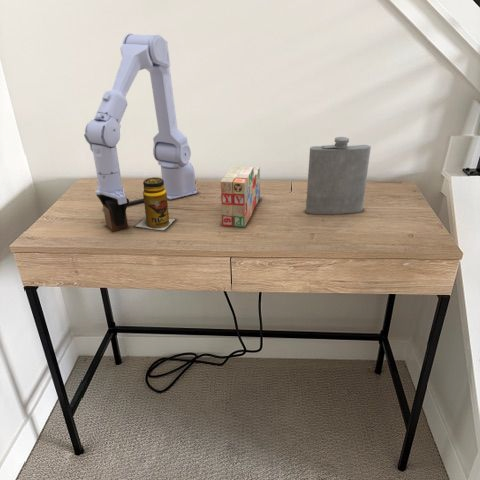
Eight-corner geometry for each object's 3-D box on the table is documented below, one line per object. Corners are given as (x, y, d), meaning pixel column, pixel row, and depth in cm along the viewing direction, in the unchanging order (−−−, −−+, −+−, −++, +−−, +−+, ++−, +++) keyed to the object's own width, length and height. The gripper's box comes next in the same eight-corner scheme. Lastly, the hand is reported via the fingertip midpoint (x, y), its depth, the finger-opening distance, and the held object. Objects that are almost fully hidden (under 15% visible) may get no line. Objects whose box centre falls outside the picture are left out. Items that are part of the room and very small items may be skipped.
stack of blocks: (239, 196, 152) (239, 155, 145) (260, 198, 150) (260, 156, 143) (221, 225, 134) (220, 180, 127) (244, 227, 133) (244, 182, 126)
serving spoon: (152, 196, 152) (151, 193, 152) (158, 201, 149) (158, 198, 149) (102, 208, 145) (101, 205, 145) (108, 213, 142) (107, 210, 142)
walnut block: (121, 222, 137) (118, 200, 134) (128, 227, 134) (125, 206, 131) (106, 225, 135) (102, 204, 132) (112, 231, 132) (108, 209, 129)
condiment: (164, 230, 132) (159, 186, 125) (135, 227, 134) (128, 183, 128) (175, 220, 138) (171, 176, 131) (147, 216, 140) (141, 173, 133)
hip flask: (360, 207, 144) (370, 134, 132) (364, 213, 140) (374, 139, 129) (304, 209, 143) (309, 136, 131) (307, 215, 140) (312, 140, 128)
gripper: (82, 166, 129) (92, 216, 137) (103, 182, 119) (112, 235, 127) (108, 161, 133) (116, 210, 140) (131, 176, 123) (138, 228, 130)
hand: (116, 221), depth 134 cm, fingers closed on walnut block, 4 cm apart
